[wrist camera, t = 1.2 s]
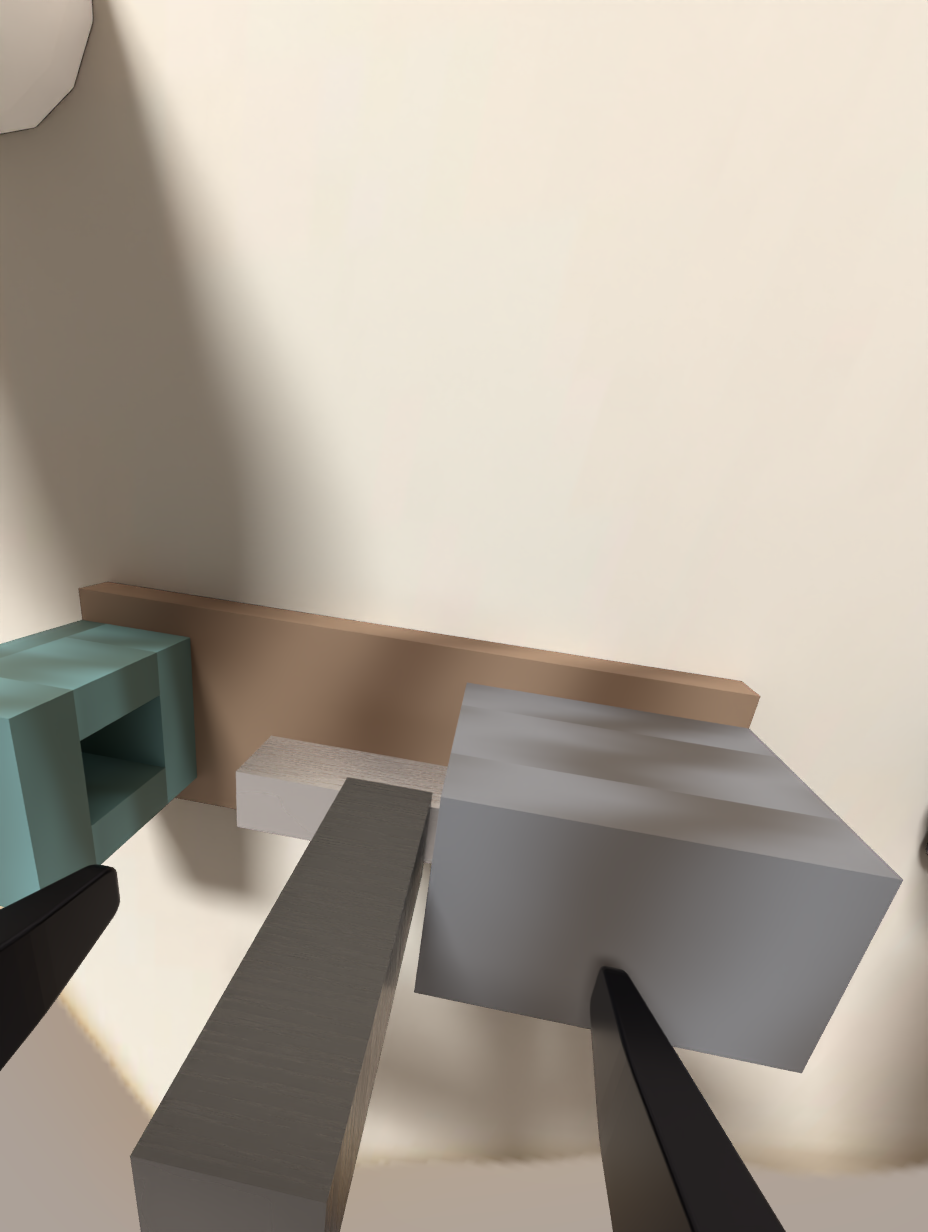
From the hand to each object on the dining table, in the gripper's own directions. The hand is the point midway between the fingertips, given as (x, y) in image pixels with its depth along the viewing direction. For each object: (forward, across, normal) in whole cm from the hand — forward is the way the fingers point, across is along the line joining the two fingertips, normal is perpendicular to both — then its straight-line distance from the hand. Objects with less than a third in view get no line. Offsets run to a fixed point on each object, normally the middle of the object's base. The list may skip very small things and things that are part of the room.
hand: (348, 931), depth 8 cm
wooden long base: (+7, +1, 0) cm, 7 cm away
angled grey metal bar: (+4, -3, 0) cm, 5 cm away
